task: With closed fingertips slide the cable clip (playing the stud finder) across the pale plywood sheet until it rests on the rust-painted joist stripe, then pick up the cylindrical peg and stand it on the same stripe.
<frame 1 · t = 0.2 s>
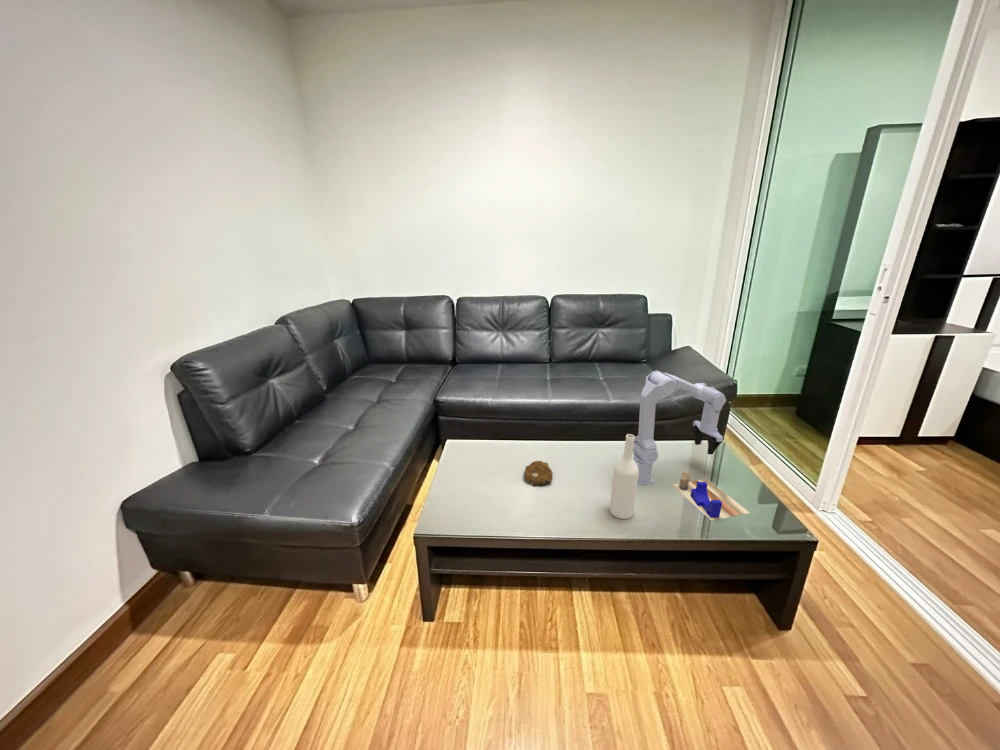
hand: (703, 449, 159), 10 cm above the table, fingers open, 7 cm apart
plywood sheet: (708, 498, 145), on the table
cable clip: (704, 506, 140), resting on plywood sheet
cylindrical peg: (683, 488, 150), resting on plywood sheet
bottle: (621, 512, 138), on the table
decorative rock: (538, 476, 159), on the table
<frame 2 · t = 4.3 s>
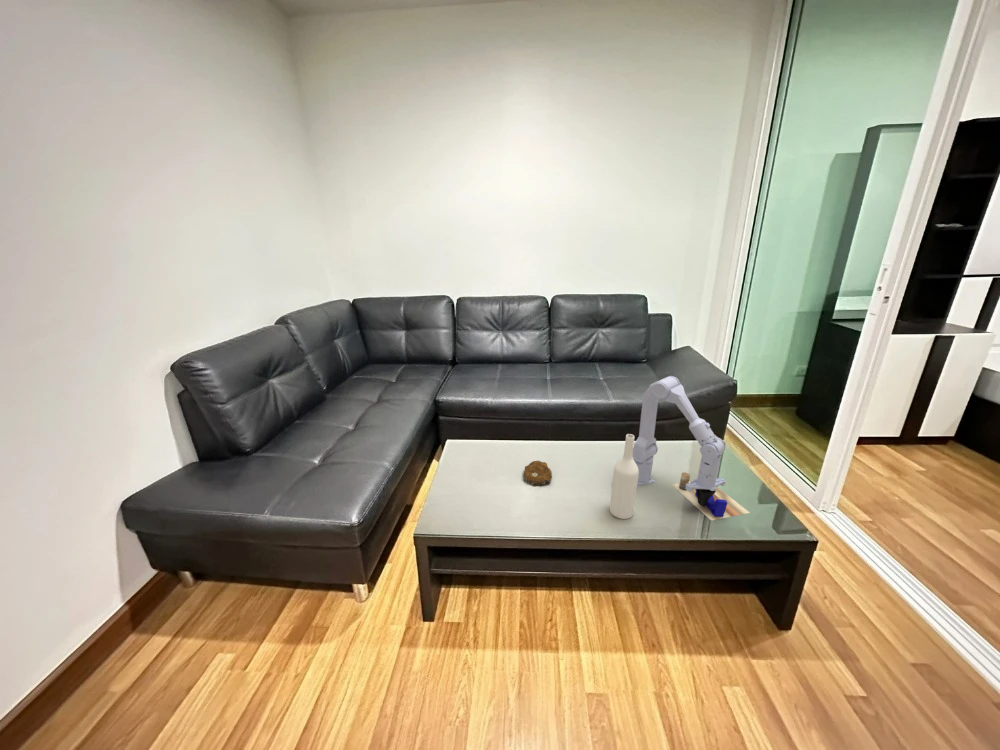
hand: (701, 504, 139), 1 cm above the table, fingers closed
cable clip: (708, 505, 140), resting on plywood sheet
everything else where it was.
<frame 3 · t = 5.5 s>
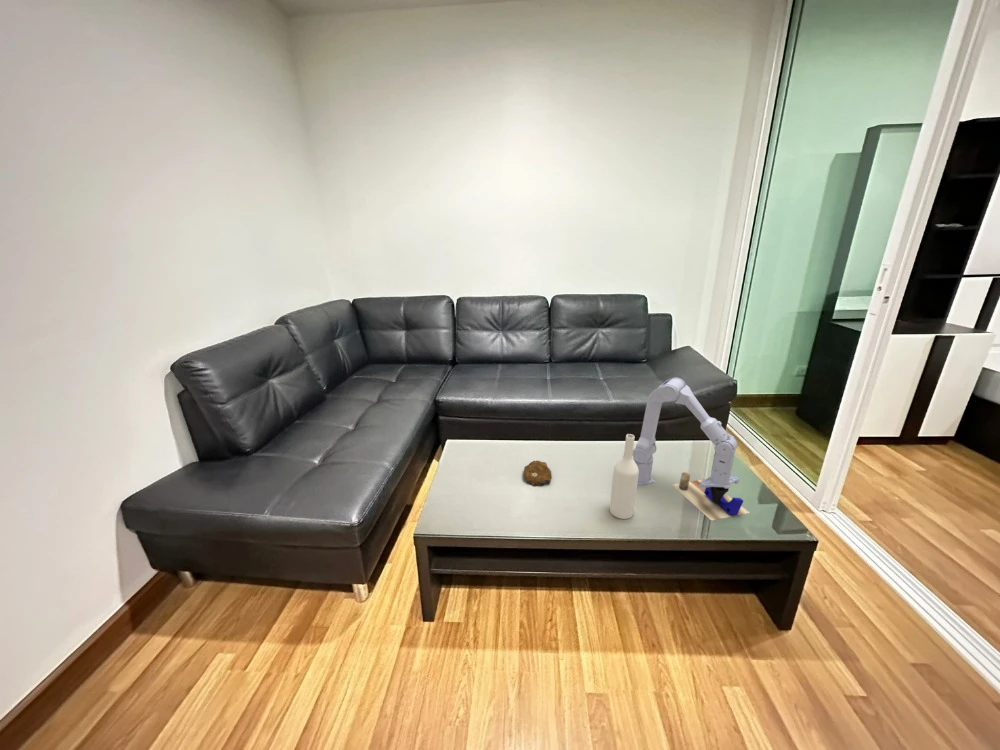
hand: (715, 502, 140), 2 cm above the table, fingers closed, pressing on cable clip
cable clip: (719, 504, 141), point 1 cm above the table, touching gripper, plywood sheet
everything else where it was.
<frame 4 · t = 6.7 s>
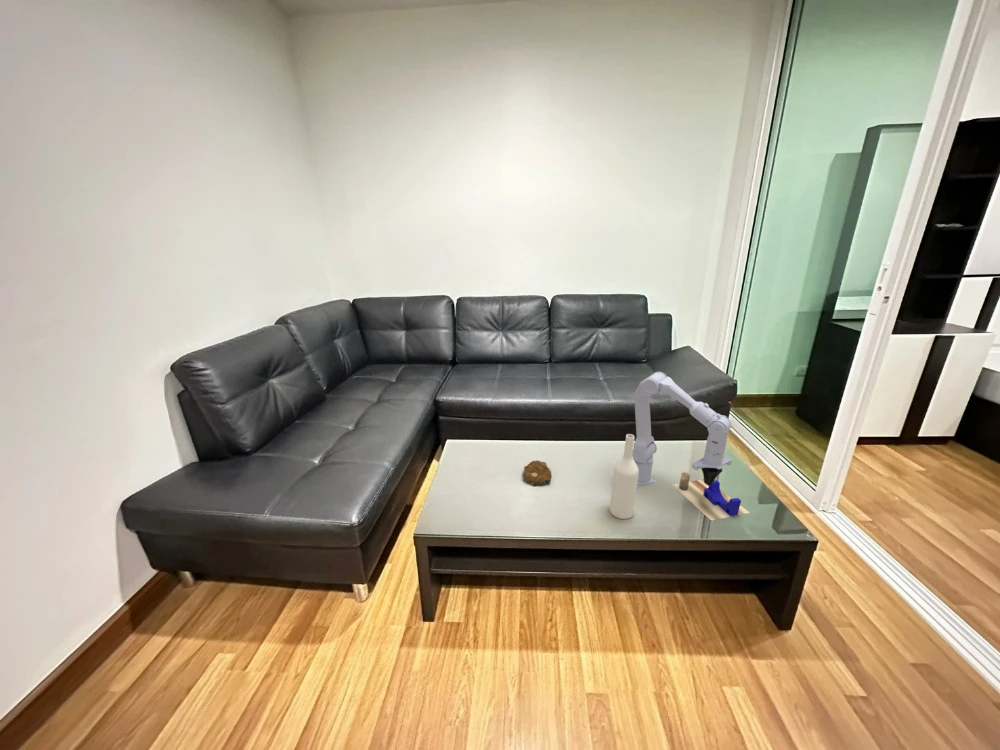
hand: (707, 483, 139), 8 cm above the table, fingers closed
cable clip: (719, 505, 141), resting on plywood sheet
everything else where it was.
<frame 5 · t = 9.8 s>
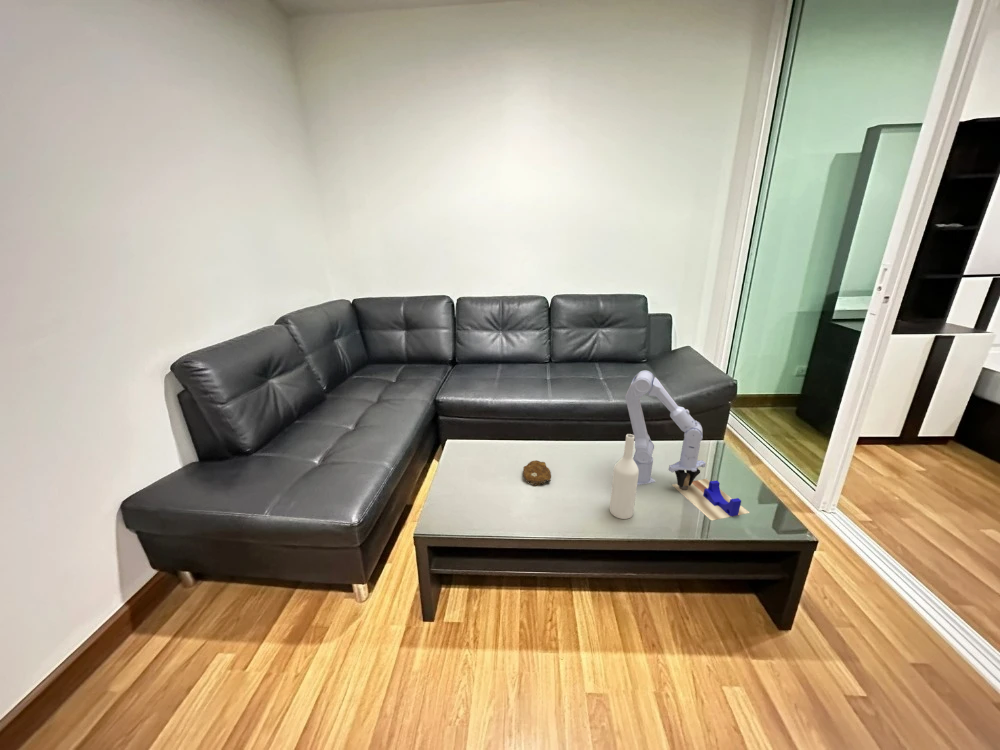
hand: (683, 484, 150), 2 cm above the table, fingers closed on cylindrical peg, 3 cm apart
cylindrical peg: (683, 488, 150), resting on plywood sheet, touching gripper
everything else where it was.
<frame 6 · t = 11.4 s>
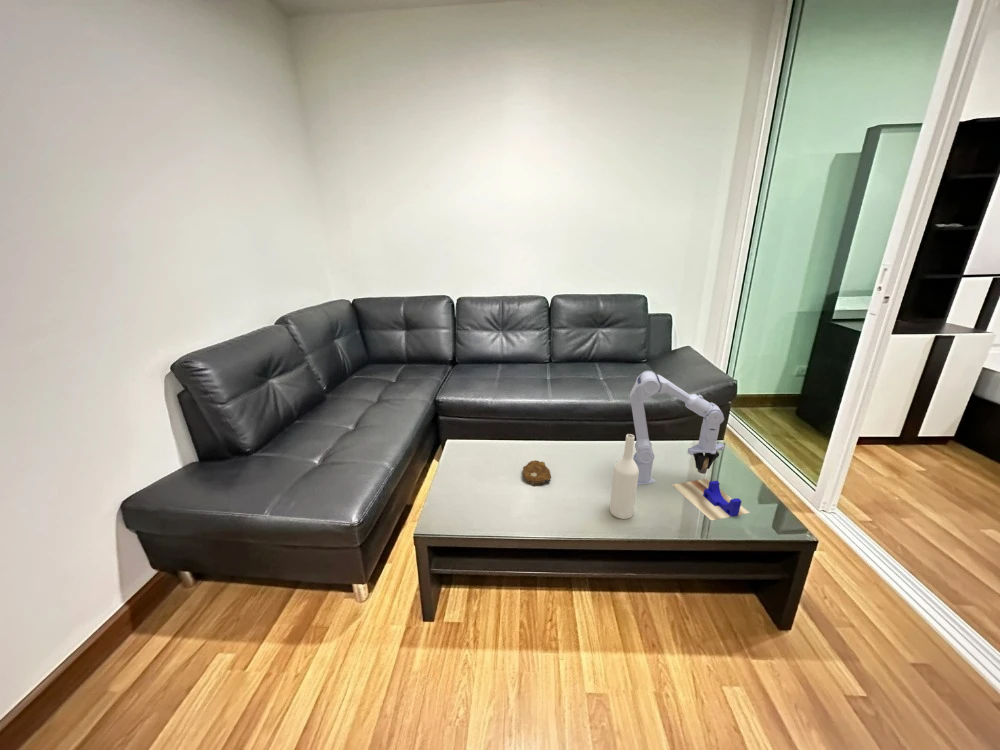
hand: (702, 468, 149), 8 cm above the table, fingers closed on cylindrical peg, 3 cm apart
cylindrical peg: (701, 471, 150), point 7 cm above the table, touching gripper
everything else where it was.
when the fingers open (2 cm above the table, at t = 13.1 s): cylindrical peg stays where it is, resting on plywood sheet.
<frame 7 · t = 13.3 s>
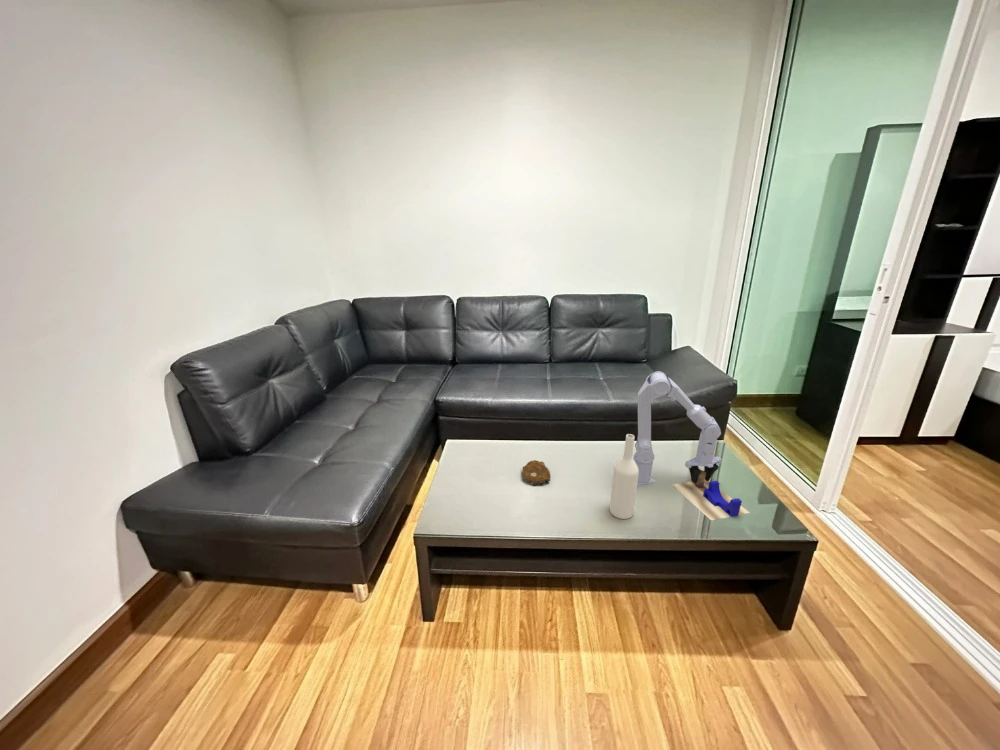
hand: (699, 480, 151), 2 cm above the table, fingers open, 5 cm apart
cylindrical peg: (699, 485, 152), resting on plywood sheet
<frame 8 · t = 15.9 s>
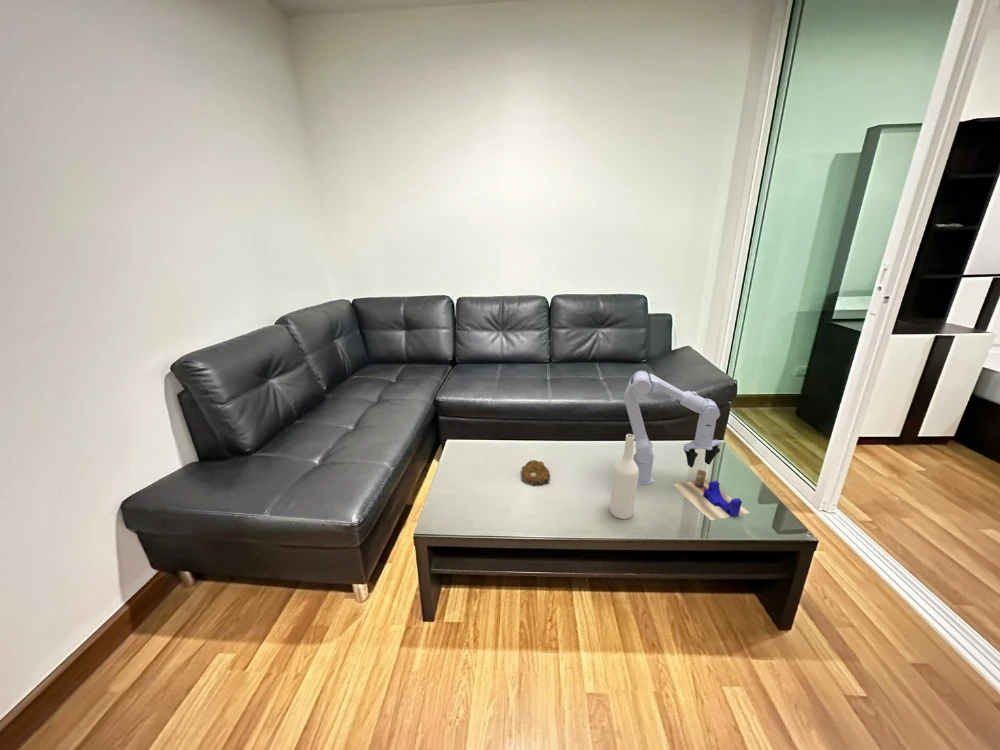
hand: (698, 464, 148), 10 cm above the table, fingers open, 7 cm apart
at the end: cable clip inside the target area on the plywood sheet (1.8 cm from its centre), point 0.1 cm above the plywood sheet's base; cylindrical peg 0.1 cm from the target spot on the plywood sheet, point 0.3 cm above the plywood sheet's base; cylindrical peg tilted 0° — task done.
